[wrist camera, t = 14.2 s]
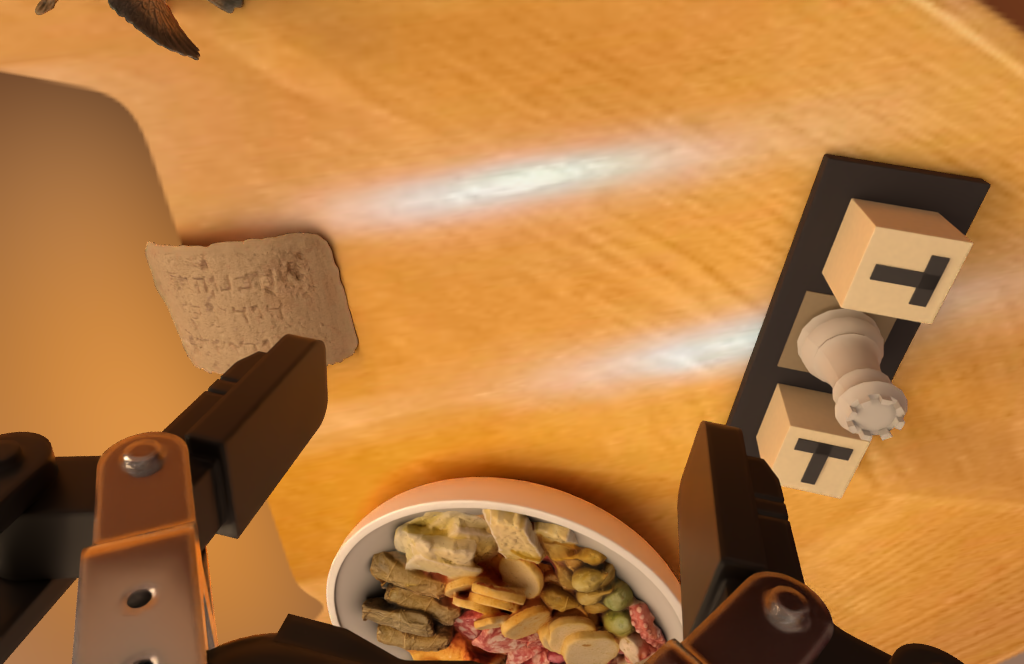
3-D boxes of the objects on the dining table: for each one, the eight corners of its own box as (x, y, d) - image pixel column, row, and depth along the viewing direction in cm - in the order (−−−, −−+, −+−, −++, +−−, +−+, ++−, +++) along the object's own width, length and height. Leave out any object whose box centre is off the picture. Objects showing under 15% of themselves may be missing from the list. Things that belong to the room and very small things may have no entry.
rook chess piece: (780, 354, 39) (807, 436, 32) (822, 293, 37) (861, 368, 30) (849, 381, 39) (890, 469, 32) (895, 322, 37) (950, 403, 30)
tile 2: (851, 197, 34) (876, 226, 30) (938, 212, 33) (975, 243, 30) (821, 272, 36) (841, 309, 32) (902, 287, 36) (932, 325, 32)
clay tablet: (192, 360, 50) (169, 379, 47) (138, 237, 45) (111, 252, 43) (364, 356, 46) (348, 376, 44) (325, 222, 42) (306, 237, 39)
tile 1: (777, 382, 40) (790, 426, 36) (850, 397, 40) (871, 443, 36) (755, 437, 42) (765, 484, 38) (824, 451, 42) (841, 500, 38)
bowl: (295, 576, 61) (250, 653, 54) (473, 385, 46) (442, 457, 39) (543, 733, 66) (530, 821, 59) (776, 607, 51) (795, 704, 44)
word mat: (824, 153, 34) (829, 158, 33) (983, 178, 33) (993, 185, 32) (719, 442, 44) (720, 452, 43) (838, 467, 43) (842, 479, 42)
